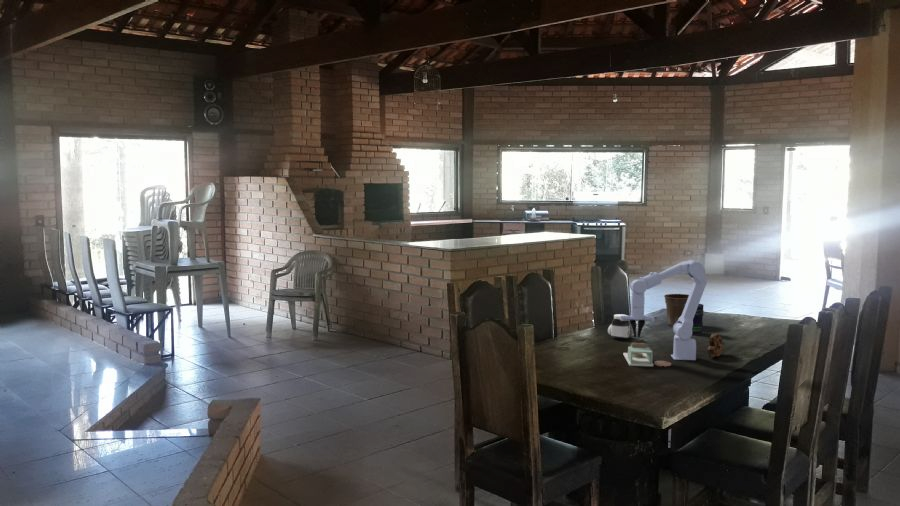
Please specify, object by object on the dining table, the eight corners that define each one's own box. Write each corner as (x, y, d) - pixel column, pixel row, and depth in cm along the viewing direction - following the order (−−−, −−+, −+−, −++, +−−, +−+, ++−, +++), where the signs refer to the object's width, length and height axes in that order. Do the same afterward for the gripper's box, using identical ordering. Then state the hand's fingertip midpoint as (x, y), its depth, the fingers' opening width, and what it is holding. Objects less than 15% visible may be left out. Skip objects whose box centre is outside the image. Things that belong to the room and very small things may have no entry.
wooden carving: (717, 361, 321) (718, 338, 320) (706, 359, 324) (707, 337, 323) (724, 353, 335) (725, 332, 334) (714, 352, 338) (715, 330, 337)
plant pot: (662, 327, 394) (663, 297, 392) (663, 321, 409) (664, 293, 407) (694, 329, 389) (695, 299, 387) (693, 323, 404) (695, 294, 403)
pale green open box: (648, 358, 321) (649, 343, 320) (652, 363, 312) (652, 347, 311) (627, 357, 322) (628, 342, 321) (630, 363, 313) (631, 347, 312)
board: (645, 355, 332) (645, 353, 331) (653, 366, 312) (653, 364, 312) (623, 354, 333) (623, 352, 332) (629, 365, 313) (629, 363, 313)
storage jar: (705, 335, 374) (706, 306, 372) (685, 335, 374) (687, 306, 372) (699, 331, 384) (700, 303, 382) (680, 330, 384) (681, 302, 382)
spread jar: (623, 341, 360) (624, 317, 359) (602, 338, 367) (602, 315, 365) (633, 336, 369) (633, 314, 368) (612, 334, 376) (613, 311, 375)
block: (640, 356, 329) (640, 345, 329) (642, 359, 325) (642, 348, 324) (630, 356, 330) (630, 345, 329) (631, 358, 325) (632, 347, 325)
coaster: (669, 362, 318) (669, 360, 318) (672, 366, 311) (672, 365, 311) (652, 362, 319) (653, 360, 319) (655, 366, 312) (655, 364, 312)
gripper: (652, 305, 328) (651, 335, 329) (619, 304, 329) (619, 334, 331) (655, 308, 321) (654, 338, 322) (621, 307, 322) (621, 337, 324)
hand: (636, 336), depth 326 cm, fingers closed
